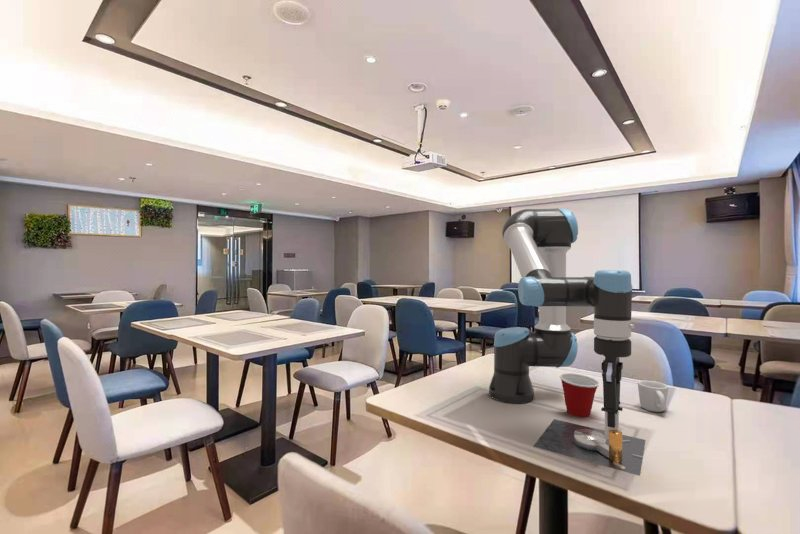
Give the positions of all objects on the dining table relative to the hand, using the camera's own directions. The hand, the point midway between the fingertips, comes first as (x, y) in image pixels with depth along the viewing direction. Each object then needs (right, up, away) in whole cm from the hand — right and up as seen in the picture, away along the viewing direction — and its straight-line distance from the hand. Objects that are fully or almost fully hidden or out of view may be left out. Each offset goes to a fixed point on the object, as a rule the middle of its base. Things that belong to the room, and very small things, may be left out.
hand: (611, 439), depth 88 cm
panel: (-2, -5, +6) cm, 8 cm away
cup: (+31, -5, +31) cm, 44 cm away
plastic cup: (+4, -5, +25) cm, 26 cm away
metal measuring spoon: (-2, -4, +3) cm, 5 cm away
